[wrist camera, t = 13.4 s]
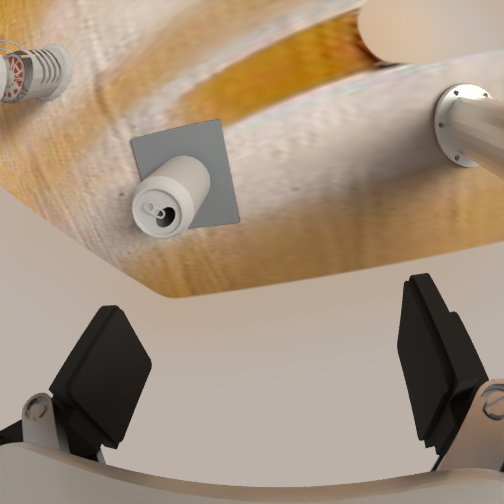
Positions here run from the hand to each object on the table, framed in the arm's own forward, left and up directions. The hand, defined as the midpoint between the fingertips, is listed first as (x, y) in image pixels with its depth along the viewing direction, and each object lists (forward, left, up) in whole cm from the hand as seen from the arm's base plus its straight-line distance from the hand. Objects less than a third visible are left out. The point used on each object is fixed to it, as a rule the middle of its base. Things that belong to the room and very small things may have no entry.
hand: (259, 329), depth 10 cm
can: (+13, +4, -35) cm, 37 cm away
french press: (+32, -19, -35) cm, 52 cm away
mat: (+13, +4, -35) cm, 38 cm away
